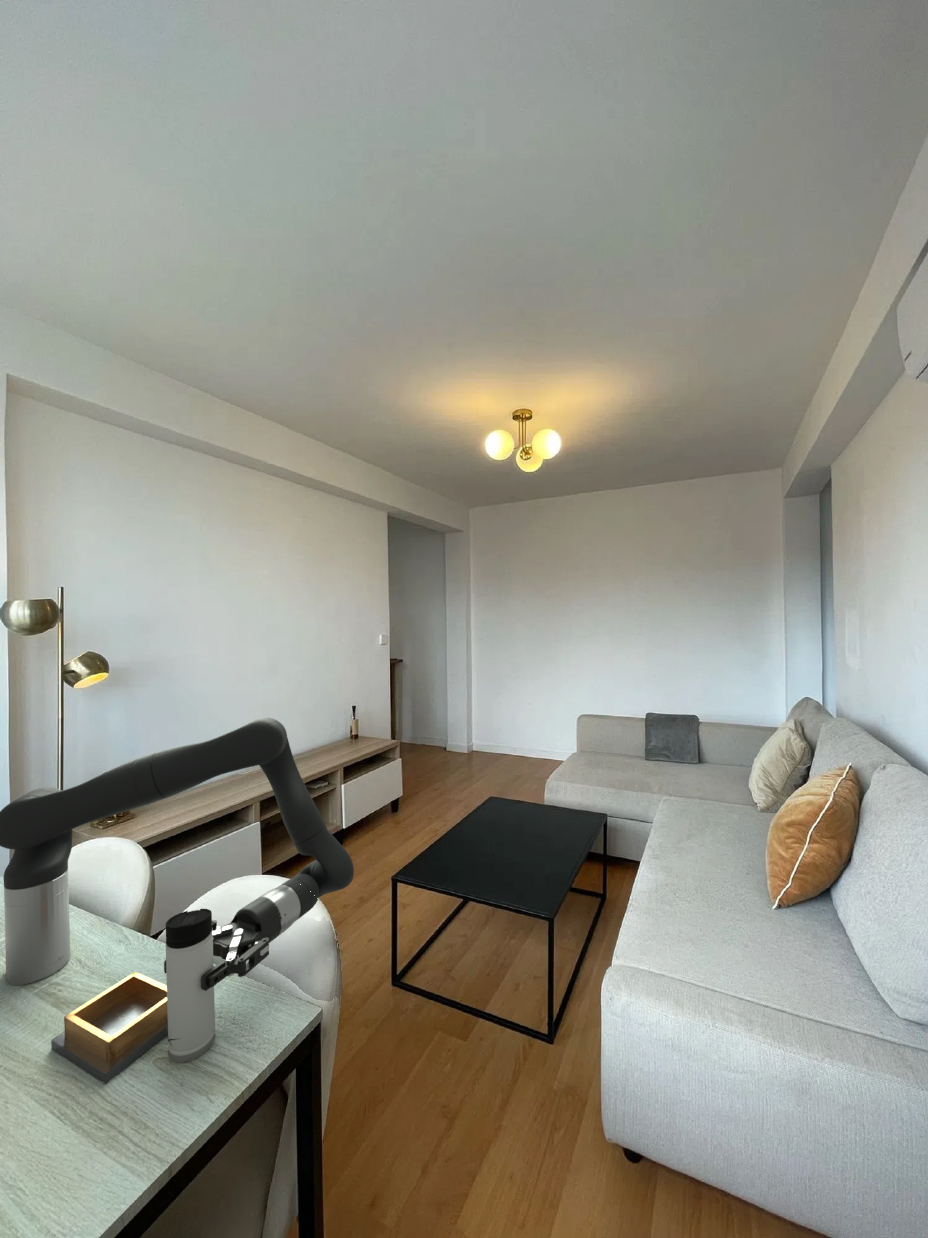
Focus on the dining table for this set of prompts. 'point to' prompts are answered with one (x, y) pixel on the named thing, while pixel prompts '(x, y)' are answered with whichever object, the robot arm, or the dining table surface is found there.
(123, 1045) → the wooden tray
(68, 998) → the dining table surface
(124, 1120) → the dining table surface
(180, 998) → the travel mug
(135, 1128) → the dining table surface
